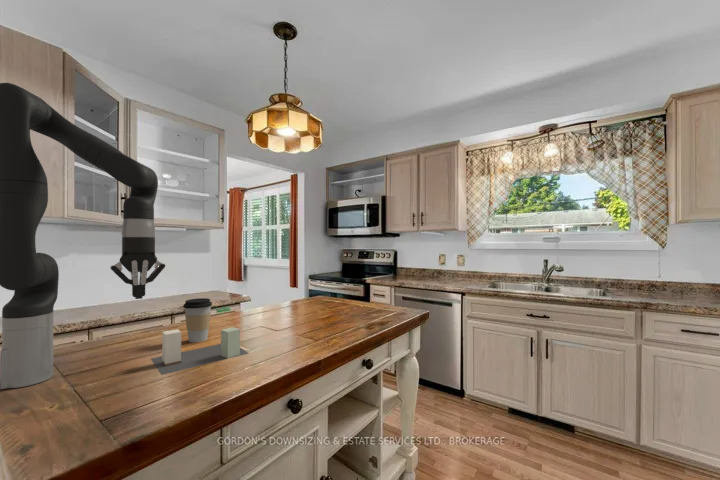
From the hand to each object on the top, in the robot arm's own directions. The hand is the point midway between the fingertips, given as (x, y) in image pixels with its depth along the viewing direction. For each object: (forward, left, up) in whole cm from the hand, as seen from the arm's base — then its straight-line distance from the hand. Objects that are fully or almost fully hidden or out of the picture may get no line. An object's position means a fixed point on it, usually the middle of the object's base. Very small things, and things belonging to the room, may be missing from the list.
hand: (138, 298), depth 88 cm
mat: (+16, 0, -20) cm, 26 cm away
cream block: (+8, 0, -20) cm, 21 cm away
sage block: (+23, -5, -20) cm, 31 cm away
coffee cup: (+20, +18, -21) cm, 34 cm away
